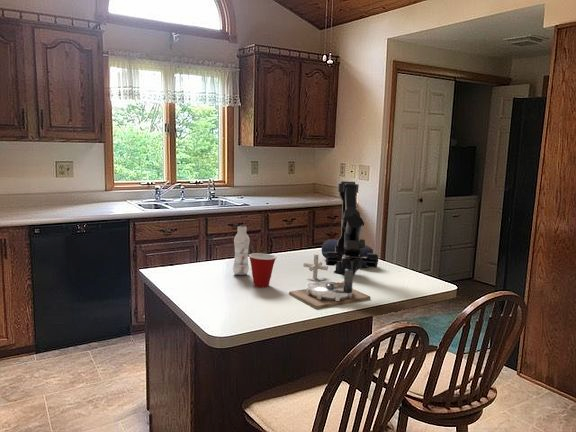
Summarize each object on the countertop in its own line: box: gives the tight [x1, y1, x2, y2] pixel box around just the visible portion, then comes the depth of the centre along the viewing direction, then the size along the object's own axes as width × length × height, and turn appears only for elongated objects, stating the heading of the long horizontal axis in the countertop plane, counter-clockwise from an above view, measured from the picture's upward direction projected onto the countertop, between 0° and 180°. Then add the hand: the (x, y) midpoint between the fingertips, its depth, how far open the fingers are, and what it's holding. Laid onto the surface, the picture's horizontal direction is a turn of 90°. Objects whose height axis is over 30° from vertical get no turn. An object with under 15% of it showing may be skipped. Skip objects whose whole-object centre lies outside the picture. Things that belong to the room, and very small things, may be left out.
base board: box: [288, 280, 371, 310], centre depth 174 cm, size 24×17×3 cm
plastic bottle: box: [232, 225, 251, 276], centre depth 196 cm, size 6×7×20 cm
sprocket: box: [306, 269, 354, 301], centre depth 174 cm, size 17×17×10 cm
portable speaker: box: [321, 239, 374, 268], centre depth 224 cm, size 25×10×10 cm, turn 53°
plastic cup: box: [248, 252, 277, 288], centre depth 184 cm, size 11×11×12 cm
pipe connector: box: [303, 253, 329, 280], centre depth 197 cm, size 10×10×10 cm
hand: (351, 280), depth 171 cm, fingers closed, pressing on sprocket
